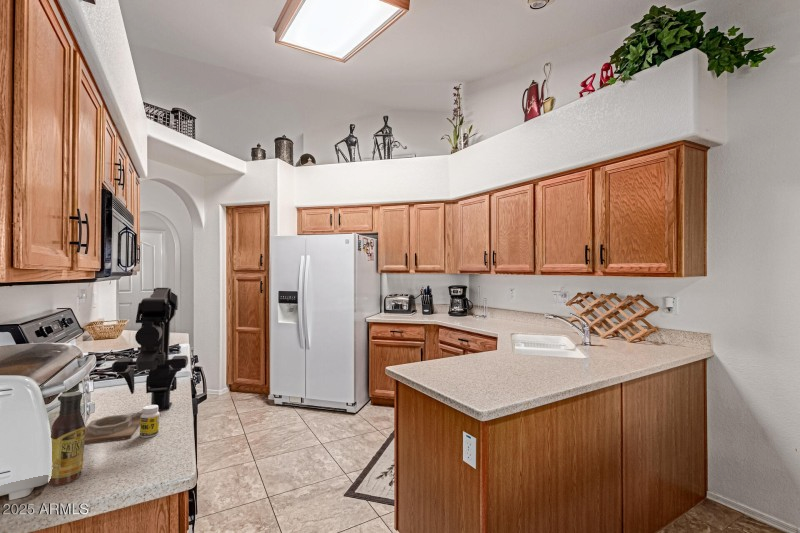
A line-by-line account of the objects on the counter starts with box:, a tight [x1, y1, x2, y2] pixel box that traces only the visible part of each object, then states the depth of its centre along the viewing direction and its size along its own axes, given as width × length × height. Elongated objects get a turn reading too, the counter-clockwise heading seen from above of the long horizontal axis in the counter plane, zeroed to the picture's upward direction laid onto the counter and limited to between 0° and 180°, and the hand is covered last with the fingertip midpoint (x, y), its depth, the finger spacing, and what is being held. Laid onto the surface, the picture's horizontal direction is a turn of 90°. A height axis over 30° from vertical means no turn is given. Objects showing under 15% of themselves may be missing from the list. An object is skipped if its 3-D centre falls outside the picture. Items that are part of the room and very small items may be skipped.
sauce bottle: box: [47, 391, 86, 486], centre depth 89 cm, size 6×6×20 cm
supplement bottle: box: [139, 404, 161, 439], centre depth 114 cm, size 5×5×8 cm
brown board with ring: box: [84, 414, 141, 445], centre depth 116 cm, size 16×14×3 cm
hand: (150, 392), depth 114 cm, fingers open, 9 cm apart
